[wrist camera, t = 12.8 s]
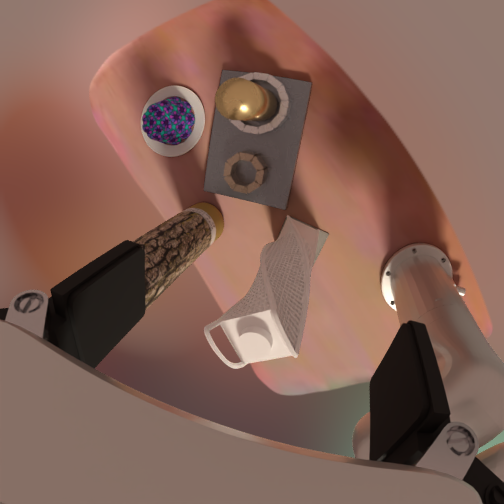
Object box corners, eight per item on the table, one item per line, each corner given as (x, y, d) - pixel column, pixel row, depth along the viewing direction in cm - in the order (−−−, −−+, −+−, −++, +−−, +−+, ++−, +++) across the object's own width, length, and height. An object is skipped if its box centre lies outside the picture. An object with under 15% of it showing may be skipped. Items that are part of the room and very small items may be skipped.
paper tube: (185, 202, 50) (79, 263, 28) (223, 200, 48) (128, 267, 26) (190, 240, 52) (97, 319, 30) (227, 240, 50) (145, 329, 28)
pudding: (221, 122, 43) (208, 122, 39) (170, 170, 49) (154, 176, 44) (177, 71, 42) (160, 67, 37) (132, 121, 47) (113, 122, 42)
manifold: (312, 84, 38) (310, 79, 34) (286, 207, 46) (282, 214, 42) (225, 71, 40) (216, 67, 36) (207, 188, 48) (196, 194, 44)
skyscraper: (263, 248, 50) (189, 368, 25) (281, 204, 46) (212, 300, 21) (310, 270, 49) (277, 407, 24) (332, 226, 45) (321, 348, 20)
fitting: (280, 91, 38) (262, 81, 29) (272, 124, 40) (252, 124, 31) (247, 84, 38) (220, 74, 30) (239, 117, 41) (211, 115, 32)
